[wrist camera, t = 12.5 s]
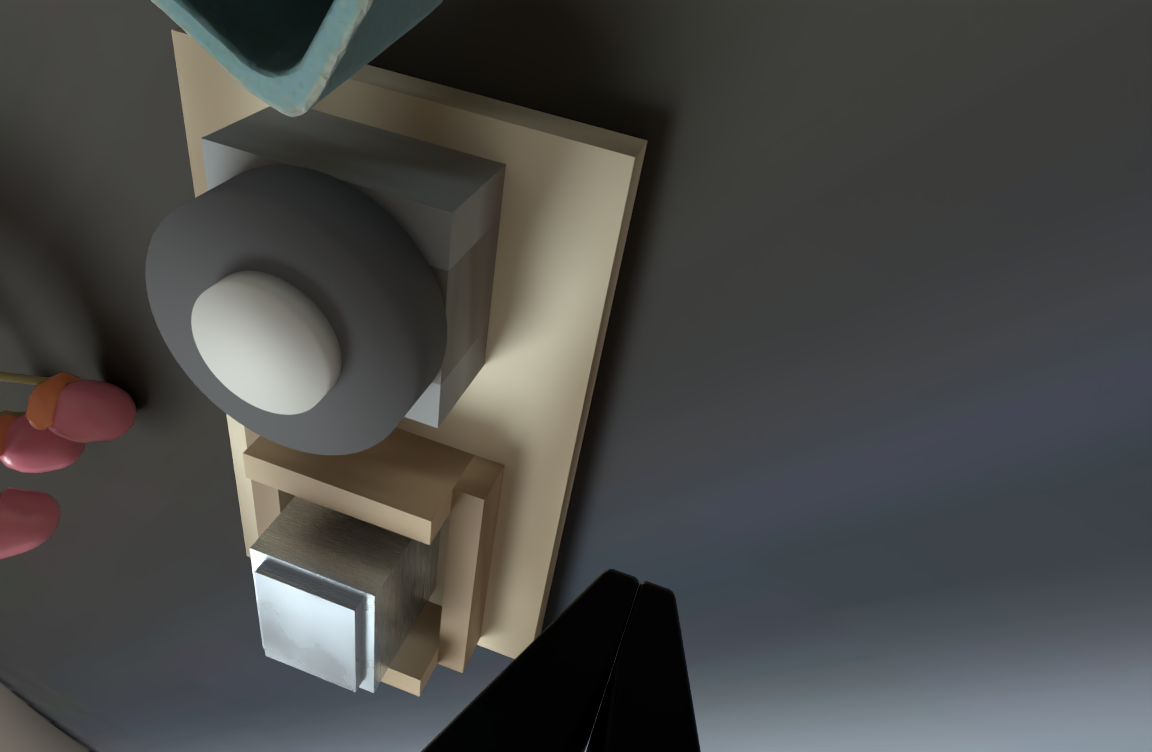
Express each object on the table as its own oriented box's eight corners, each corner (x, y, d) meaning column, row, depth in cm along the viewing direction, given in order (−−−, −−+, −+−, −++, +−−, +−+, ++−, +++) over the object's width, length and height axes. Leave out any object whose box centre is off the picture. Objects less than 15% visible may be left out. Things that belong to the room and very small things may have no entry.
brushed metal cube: (444, 491, 26) (367, 607, 22) (435, 587, 29) (367, 703, 25) (333, 452, 27) (241, 558, 23) (337, 549, 30) (255, 658, 26)
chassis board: (647, 140, 19) (597, 208, 16) (539, 638, 31) (498, 736, 28) (203, 20, 21) (74, 58, 17) (265, 534, 33) (196, 614, 29)
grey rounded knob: (510, 162, 19) (400, 262, 14) (486, 377, 22) (393, 507, 18) (267, 93, 20) (97, 168, 15) (284, 311, 23) (151, 419, 19)
